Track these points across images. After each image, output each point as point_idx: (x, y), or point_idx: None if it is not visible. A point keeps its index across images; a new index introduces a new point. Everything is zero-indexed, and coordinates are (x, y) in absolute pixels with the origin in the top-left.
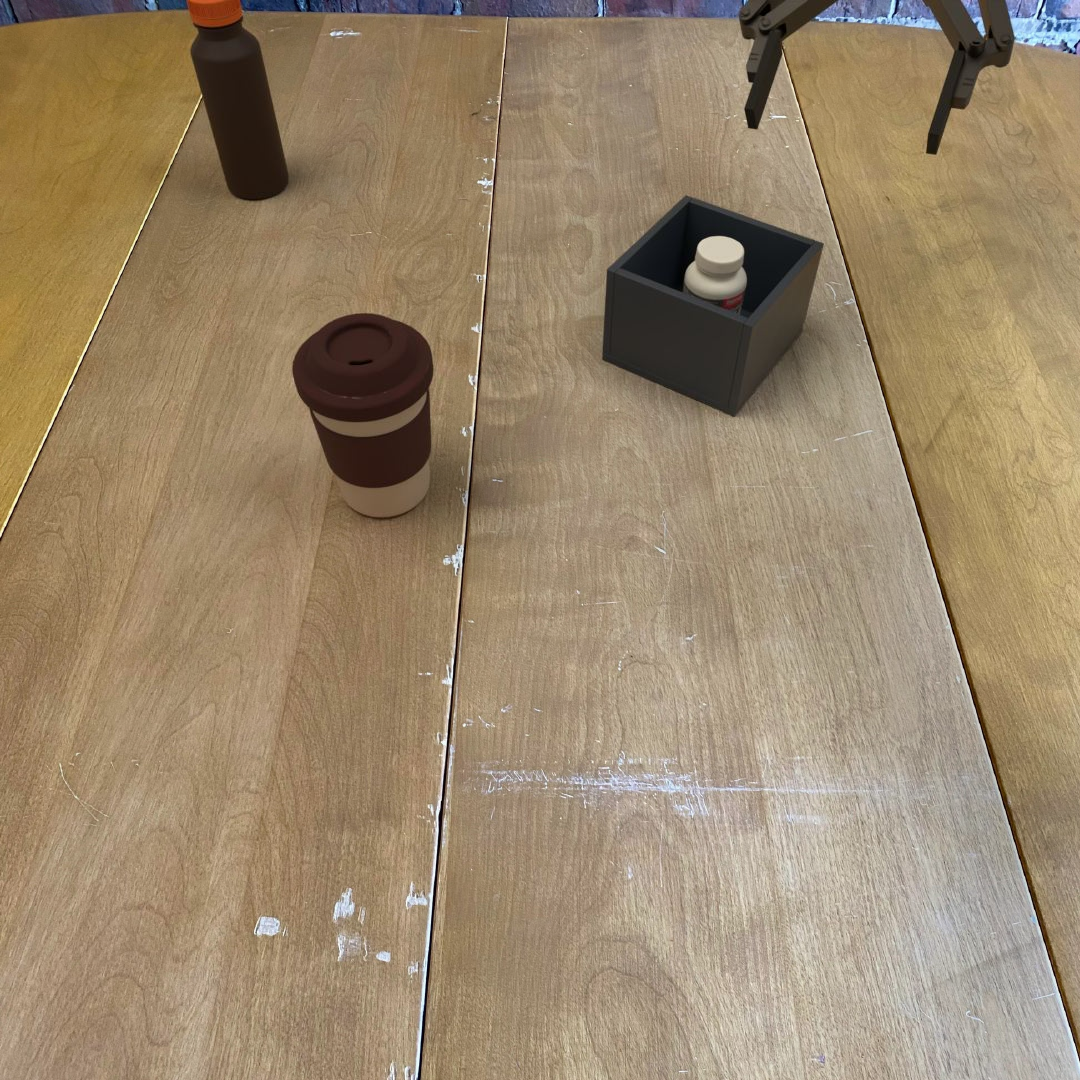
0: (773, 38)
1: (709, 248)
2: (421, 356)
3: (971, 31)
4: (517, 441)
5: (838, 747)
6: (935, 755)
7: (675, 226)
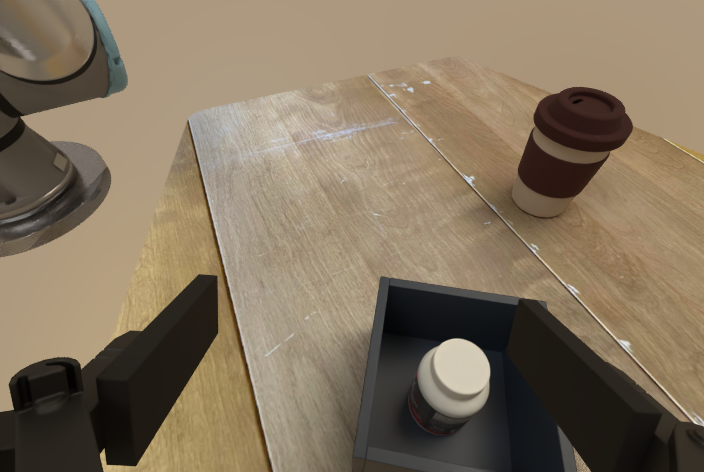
0: (629, 396)
1: (473, 359)
2: (557, 124)
3: (44, 442)
4: (499, 251)
5: (267, 162)
6: (226, 170)
7: (550, 447)
